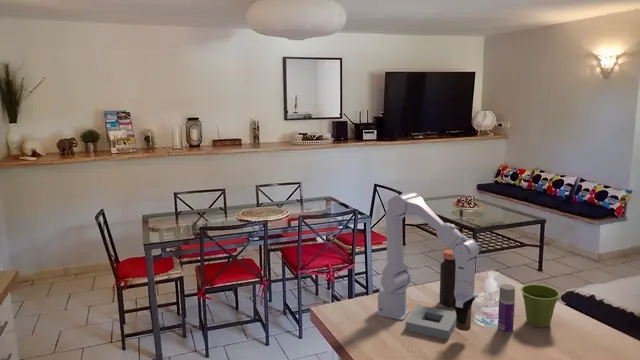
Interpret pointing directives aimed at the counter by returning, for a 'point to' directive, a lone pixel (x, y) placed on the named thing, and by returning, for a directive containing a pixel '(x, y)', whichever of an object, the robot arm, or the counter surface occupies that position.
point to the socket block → (432, 322)
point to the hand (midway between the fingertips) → (463, 319)
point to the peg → (467, 325)
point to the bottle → (447, 279)
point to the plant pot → (539, 303)
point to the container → (506, 309)
